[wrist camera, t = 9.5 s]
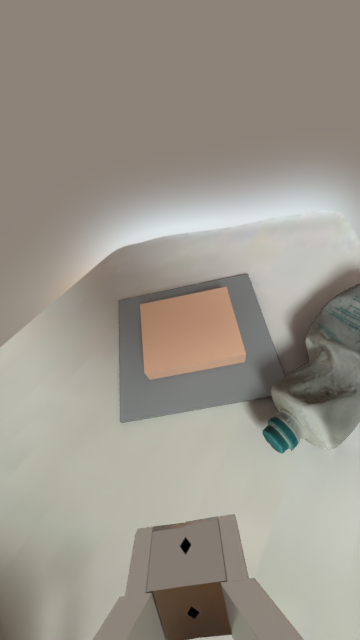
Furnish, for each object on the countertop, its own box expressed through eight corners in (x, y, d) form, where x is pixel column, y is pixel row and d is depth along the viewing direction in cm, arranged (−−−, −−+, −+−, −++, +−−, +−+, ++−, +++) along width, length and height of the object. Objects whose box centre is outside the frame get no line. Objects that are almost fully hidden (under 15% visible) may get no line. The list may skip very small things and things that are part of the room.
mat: (121, 422, 32) (120, 422, 31) (120, 302, 41) (118, 300, 41) (289, 393, 31) (290, 392, 30) (247, 276, 40) (247, 273, 40)
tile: (144, 373, 31) (140, 304, 37) (150, 380, 33) (145, 314, 39) (246, 353, 30) (226, 286, 36) (245, 362, 33) (226, 298, 38)
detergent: (360, 281, 37) (220, 392, 31) (392, 243, 30) (224, 374, 25) (459, 351, 31) (309, 500, 26) (522, 323, 25) (341, 513, 20)
